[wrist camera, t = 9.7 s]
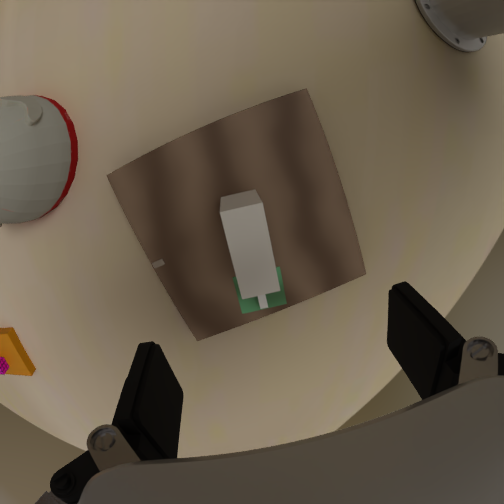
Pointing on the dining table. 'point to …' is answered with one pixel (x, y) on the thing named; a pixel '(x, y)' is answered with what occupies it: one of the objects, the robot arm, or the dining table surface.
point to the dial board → (232, 182)
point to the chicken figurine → (34, 157)
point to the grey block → (249, 245)
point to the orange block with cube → (13, 355)
